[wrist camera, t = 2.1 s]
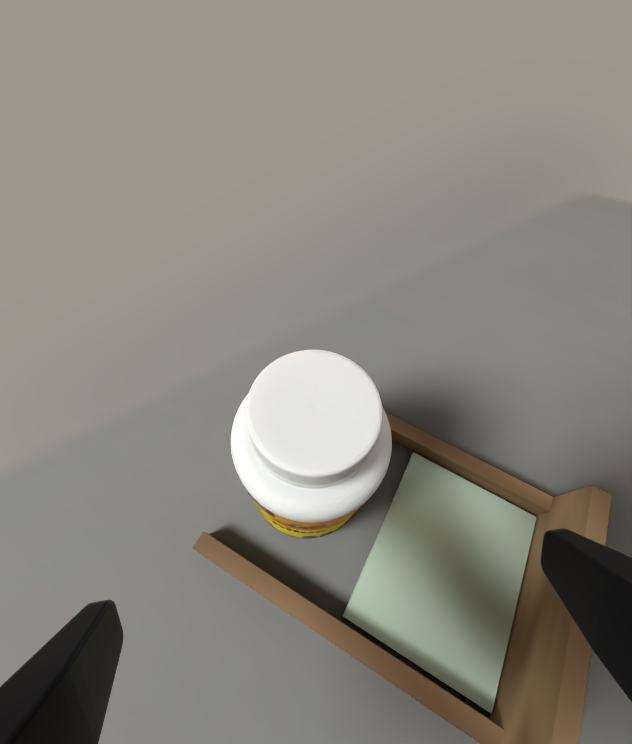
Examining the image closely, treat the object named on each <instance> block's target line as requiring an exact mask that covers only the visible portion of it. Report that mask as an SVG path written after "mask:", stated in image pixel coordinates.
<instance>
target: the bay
mask: <svg viewBox="0 0 632 744" xmlns="http://www.w3.org/2000/svg"><path fill="white" fill-rule="evenodd" d="M385 413H386V415H387V418H388V421H389V424H390V429H391V436H392V440H394V441H396V442H397V443H399V444H401V445H403V446H405V447H407V448H409V449H411V450H413V451H415V452H417V453H418V454H420V455H422V456H424V457H426V458H428V459H430V460H432V461H434V462H436V463H437V464H439V465H441V466H443V467H445V468H447V469H449V470H451V471H453V472H455V473H457V474H458V475H460V476H462V477H464V478H466V479H468V480H470V481H472V482H474V483H476V484H478V485H479V486H481V487H483V488H485V489H487V490H489V491H491V492H493V493H495V494H497V495H498V496H500V497H502V498H504V499H506V500H508V501H510V502H512V503H514V504H516V505H518V506H519V507H521V508H523V509H525V510H527V511H529V512H531V513H533V514H535V515H536V516H534V515H532V514H530V513H528V512H526V511H524V510H522V509H520V508H519V507H517V506H515V505H513V504H511V503H509V502H507V501H505V500H503V499H501V498H500V497H498V496H496V495H494V494H492V493H490V492H488V491H486V490H484V489H482V488H481V487H479V486H477V485H475V484H473V483H471V482H469V481H467V480H465V479H463V478H461V477H460V476H458V475H456V474H454V473H452V472H450V471H448V470H446V469H444V468H442V467H441V466H439V465H437V464H435V463H433V462H431V461H429V460H427V459H425V458H423V457H422V456H420V455H418V454H416V453H414V452H413V453H412V455H411V458H410V460H409V462H408V465H407V467H406V469H405V472H404V474H403V476H402V479H401V481H400V483H399V486H398V488H397V490H396V493H395V495H394V497H393V499H392V502H391V504H390V506H389V509H388V511H387V513H386V516H385V518H384V520H383V523H382V525H381V527H380V530H379V532H378V534H377V537H376V539H375V541H374V544H373V546H372V548H371V551H370V553H369V555H368V558H367V560H366V562H365V565H364V567H363V569H362V572H361V574H360V576H359V579H358V581H357V583H356V586H355V588H354V590H353V593H352V595H351V597H350V600H349V602H348V604H347V607H346V609H345V611H344V613H343V617H345V618H346V619H348V620H349V621H351V622H352V623H354V624H355V625H357V626H358V627H360V628H361V629H363V630H364V631H366V632H367V633H369V634H371V635H372V636H374V637H375V638H377V639H378V640H380V641H381V642H383V643H384V644H386V645H387V646H389V647H390V648H392V649H393V650H395V651H396V652H398V653H400V654H401V655H403V656H404V657H406V658H407V659H409V660H410V661H412V662H413V663H415V664H416V665H418V666H419V667H421V668H422V669H424V670H425V671H427V672H428V673H430V674H432V675H433V676H435V677H436V678H438V679H439V680H441V681H442V682H444V683H445V684H447V685H448V686H450V687H451V688H453V689H454V690H456V691H457V692H459V693H461V694H462V695H464V696H465V697H467V698H468V699H470V700H471V701H473V702H474V703H476V704H477V705H479V706H480V707H482V708H483V709H485V710H486V711H488V712H490V713H491V714H490V718H488V717H486V716H484V715H483V714H481V713H480V712H478V711H477V710H475V709H474V708H472V707H471V706H469V705H468V704H466V703H465V702H463V701H462V700H460V699H459V698H457V697H456V696H454V695H453V694H451V693H450V692H448V691H447V690H445V689H444V688H442V687H440V686H439V685H437V684H436V683H434V682H433V681H431V680H430V679H428V678H427V677H425V676H424V675H422V674H421V673H419V672H418V671H416V670H415V669H413V668H412V667H410V666H409V665H407V664H406V663H404V662H403V661H401V660H400V659H398V658H397V657H395V656H393V655H392V654H390V653H389V652H387V651H386V650H384V649H383V648H381V647H380V646H378V645H377V644H375V643H374V642H372V641H371V640H369V639H368V638H366V637H365V636H363V635H362V634H360V633H359V632H357V631H356V630H354V629H353V628H351V627H349V626H348V625H346V624H345V623H343V622H342V621H340V620H339V619H337V618H336V617H334V616H333V615H331V614H330V613H328V612H327V611H325V610H324V609H322V608H321V607H319V606H318V605H316V604H315V603H313V602H312V601H310V600H309V599H307V598H306V597H304V596H302V595H301V594H299V593H298V592H296V591H295V590H293V589H292V588H290V587H289V586H287V585H286V584H284V583H283V582H281V581H280V580H278V579H277V578H275V577H274V576H272V575H271V574H269V573H268V572H266V571H265V570H263V569H262V568H260V567H259V566H257V565H255V564H254V563H252V562H251V561H249V560H248V559H246V558H245V557H243V556H242V555H240V554H239V553H237V552H236V551H234V550H233V549H231V548H230V547H228V546H227V545H225V544H224V543H222V542H221V541H219V540H218V539H216V538H215V537H213V536H211V535H210V534H208V533H206V532H204V531H203V533H202V534H201V536H200V537H199V539H198V540H197V542H196V543H195V545H194V547H193V549H194V550H196V551H197V552H199V553H200V554H202V555H203V556H205V557H206V558H208V559H209V560H211V561H212V562H214V563H215V564H216V565H218V566H219V567H221V568H222V569H224V570H225V571H227V572H228V573H230V574H231V575H233V576H234V577H236V578H237V579H239V580H240V581H242V582H243V583H245V584H246V585H247V586H249V587H250V588H252V589H253V590H255V591H256V592H258V593H259V594H261V595H262V596H264V597H265V598H267V599H268V600H270V601H271V602H273V603H274V604H276V605H277V606H278V607H280V608H281V609H283V610H284V611H286V612H287V613H289V614H290V615H292V616H293V617H295V618H296V619H298V620H299V621H301V622H302V623H304V624H305V625H307V626H308V627H309V628H311V629H312V630H314V631H315V632H317V633H318V634H320V635H321V636H323V637H324V638H326V639H327V640H329V641H330V642H332V643H333V644H335V645H336V646H338V647H339V648H340V649H342V650H343V651H345V652H346V653H348V654H349V655H351V656H352V657H354V658H355V659H357V660H358V661H360V662H361V663H363V664H364V665H366V666H367V667H369V668H370V669H371V670H373V671H374V672H376V673H377V674H379V675H380V676H382V677H383V678H385V679H386V680H388V681H389V682H391V683H392V684H394V685H395V686H397V687H398V688H400V689H401V690H402V691H404V692H405V693H407V694H408V695H410V696H411V697H413V698H414V699H416V700H417V701H419V702H420V703H422V704H423V705H425V706H426V707H428V708H429V709H430V710H432V711H433V712H435V713H436V714H438V715H439V716H441V717H442V718H444V719H445V720H447V721H448V722H450V723H451V724H453V725H454V726H456V727H457V728H459V729H460V730H461V731H463V732H464V733H466V734H467V735H469V736H470V737H472V738H473V739H475V740H476V741H478V742H479V743H481V744H579V741H580V733H581V726H582V718H583V711H584V703H585V695H586V688H587V680H588V673H589V665H590V657H591V650H592V647H591V646H590V645H589V643H588V642H587V640H586V639H585V637H584V636H583V634H582V632H581V631H580V629H579V628H578V626H577V624H576V623H575V621H574V620H573V618H572V617H571V615H570V613H569V612H568V610H567V609H566V607H565V606H564V604H563V602H562V601H561V599H560V598H559V596H558V594H557V593H556V591H555V590H554V588H553V587H552V585H551V583H550V582H549V580H548V579H547V577H546V576H545V574H544V572H543V570H542V567H541V562H540V558H541V550H542V543H543V536H544V533H545V532H546V531H548V530H553V529H560V528H565V529H568V530H570V531H573V532H575V533H577V534H579V535H582V536H584V537H586V538H588V539H591V540H593V541H595V542H597V543H599V544H602V545H604V546H605V544H606V536H607V529H608V521H609V513H610V506H611V498H612V494H610V493H608V492H606V491H604V490H602V489H600V488H598V487H596V486H593V485H592V486H588V487H585V488H582V489H578V490H575V491H572V492H568V493H565V494H562V495H558V496H555V497H552V496H550V495H548V494H546V493H544V492H542V491H540V490H538V489H536V488H534V487H532V486H530V485H528V484H527V483H525V482H523V481H521V480H519V479H517V478H515V477H513V476H511V475H509V474H507V473H505V472H503V471H501V470H499V469H497V468H495V467H493V466H491V465H489V464H487V463H485V462H483V461H481V460H479V459H477V458H475V457H473V456H472V455H470V454H468V453H466V452H464V451H462V450H460V449H458V448H456V447H454V446H452V445H450V444H448V443H446V442H444V441H442V440H440V439H438V438H436V437H434V436H432V435H430V434H428V433H426V432H424V431H422V430H420V429H418V428H417V427H415V426H413V425H411V424H409V423H407V422H405V421H403V420H401V419H399V418H397V417H395V416H393V415H391V414H389V413H387V412H385Z"/></svg>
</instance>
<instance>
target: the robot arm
mask: <svg viewBox="0 0 632 744" xmlns="http://www.w3.org/2000/svg"><path fill="white" fill-rule="evenodd" d="M540 562H541V567H542V570H543V572H544V574H545V576H546V577H547V579H548V580H549V582H550V583H551V585H552V587H553V588H554V590H555V591H556V593H557V594H558V596H559V598H560V599H561V601H562V602H563V604H564V606H565V607H566V609H567V610H568V612H569V613H570V615H571V617H572V618H573V620H574V621H575V623H576V624H577V626H578V628H579V629H580V631H581V632H582V634H583V636H584V637H585V639H586V640H587V642H588V643H589V645H590V646H591V647H592V649H593V650H594V652H595V653H596V655H597V656H598V657H599V659H600V660H601V662H602V663H603V664H604V666H605V667H606V668H607V670H608V671H609V672H610V674H611V675H612V676H613V678H614V679H615V680H616V682H617V683H618V684H619V686H620V687H621V688H622V690H623V691H624V692H625V694H626V695H627V697H628V698H629V699H630V701H631V702H632V558H631V557H628V556H626V555H624V554H622V553H620V552H617V551H615V550H613V549H611V548H608V547H606V546H604V545H602V544H599V543H597V542H595V541H593V540H591V539H588V538H586V537H584V536H582V535H579V534H577V533H575V532H573V531H570V530H568V529H565V528H560V529H553V530H548V531H546V532H545V533H544V536H543V543H542V550H541V558H540ZM122 644H123V630H122V626H121V622H120V619H119V616H118V612H117V609H116V605H115V603H114V602H113V601H112V600H105V601H99V602H92V603H90V604H88V605H87V606H85V607H84V608H83V609H82V610H81V611H80V612H79V613H78V614H77V615H76V616H75V617H74V618H73V619H72V620H70V621H69V622H68V623H67V624H66V625H65V626H64V627H63V628H62V629H61V630H60V631H59V632H58V633H57V634H56V635H55V636H54V637H52V638H51V639H50V640H49V641H48V642H47V643H46V644H45V645H44V646H43V647H42V648H41V649H40V650H39V651H38V652H37V653H36V654H35V655H33V656H32V657H31V658H30V659H29V660H28V661H27V662H26V663H25V664H24V665H23V666H22V667H21V668H20V669H19V670H18V671H17V672H15V673H14V674H13V675H12V676H11V677H10V678H9V679H8V680H7V681H6V682H5V683H4V684H3V685H2V686H1V687H0V744H98V742H99V738H100V734H101V730H102V726H103V722H104V718H105V714H106V710H107V706H108V702H109V698H110V694H111V689H112V685H113V681H114V677H115V673H116V669H117V665H118V661H119V657H120V653H121V648H122Z"/></svg>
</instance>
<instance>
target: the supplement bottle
mask: <svg viewBox="0 0 632 744" xmlns="http://www.w3.org/2000/svg"><path fill="white" fill-rule="evenodd" d="M231 452H232V458H233V462H234V465H235V468H236V471H237V474H238V477H239V478H240V480H241V482H242V484H243V485H244V487H245V489H246V490H247V492H248V494H249V495H250V496H251V498H252V500H253V501H254V503H255V505H256V506H257V508H258V509H259V511H260V512H261V514H262V515H263V517H264V518H265V519H266V520H267V521H268V522H269V523H270V524H271V525H272V526H273V527H274V528H276V529H277V530H279V531H280V532H282V533H284V534H286V535H289V536H292V537H296V538H305V539H309V538H317V537H321V536H325V535H327V534H330V533H332V532H334V531H335V530H337V529H338V528H339V527H341V526H342V525H343V524H344V523H345V522H346V521H347V520H348V519H349V518H350V517H351V516H352V515H353V514H354V513H355V512H356V511H357V510H358V509H359V508H360V507H361V506H362V505H363V504H364V503H365V502H366V501H367V500H368V499H369V498H370V497H371V496H372V495H373V494H374V492H375V491H376V490H377V488H378V487H379V485H380V484H381V482H382V480H383V478H384V476H385V474H386V472H387V469H388V466H389V462H390V458H391V452H392V436H391V429H390V424H389V421H388V418H387V415H386V413H385V411H384V409H383V407H382V403H381V398H380V395H379V392H378V390H377V388H376V386H375V384H374V382H373V381H372V379H371V378H370V377H369V375H368V374H367V373H366V372H365V371H364V370H363V369H362V368H361V367H360V366H358V365H357V364H356V363H354V362H353V361H351V360H350V359H348V358H346V357H344V356H341V355H339V354H337V353H333V352H329V351H324V350H302V351H297V352H293V353H290V354H287V355H285V356H282V357H280V358H279V359H277V360H275V361H273V362H272V363H271V364H269V365H268V366H267V367H266V368H265V369H264V370H263V371H262V372H261V373H260V374H259V375H258V377H257V378H256V380H255V381H254V383H253V385H252V387H251V389H250V391H249V393H248V395H247V396H246V397H245V399H244V400H243V402H242V403H241V405H240V407H239V409H238V411H237V413H236V416H235V419H234V422H233V427H232V432H231Z"/></svg>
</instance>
